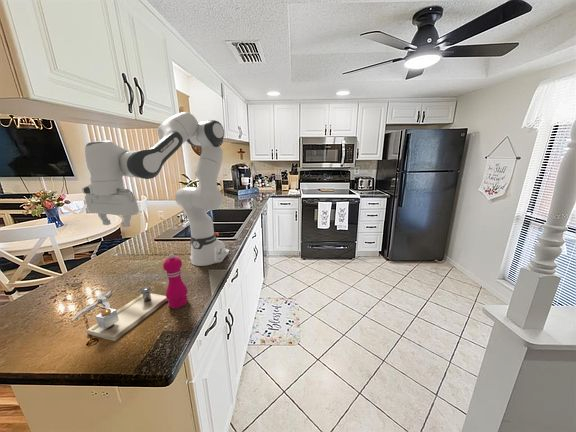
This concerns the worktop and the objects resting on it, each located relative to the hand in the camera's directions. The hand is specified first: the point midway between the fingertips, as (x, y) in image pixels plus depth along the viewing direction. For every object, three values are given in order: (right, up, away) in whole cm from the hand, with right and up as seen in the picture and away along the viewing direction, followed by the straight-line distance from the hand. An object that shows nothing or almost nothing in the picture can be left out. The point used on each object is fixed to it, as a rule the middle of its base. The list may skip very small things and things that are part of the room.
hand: (116, 225), depth 83 cm
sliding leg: (+7, -31, -12) cm, 34 cm away
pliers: (-7, -30, +1) cm, 31 cm away
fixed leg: (+11, -28, +1) cm, 30 cm away
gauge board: (+9, -31, -5) cm, 33 cm away
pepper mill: (+22, -29, +2) cm, 37 cm away
